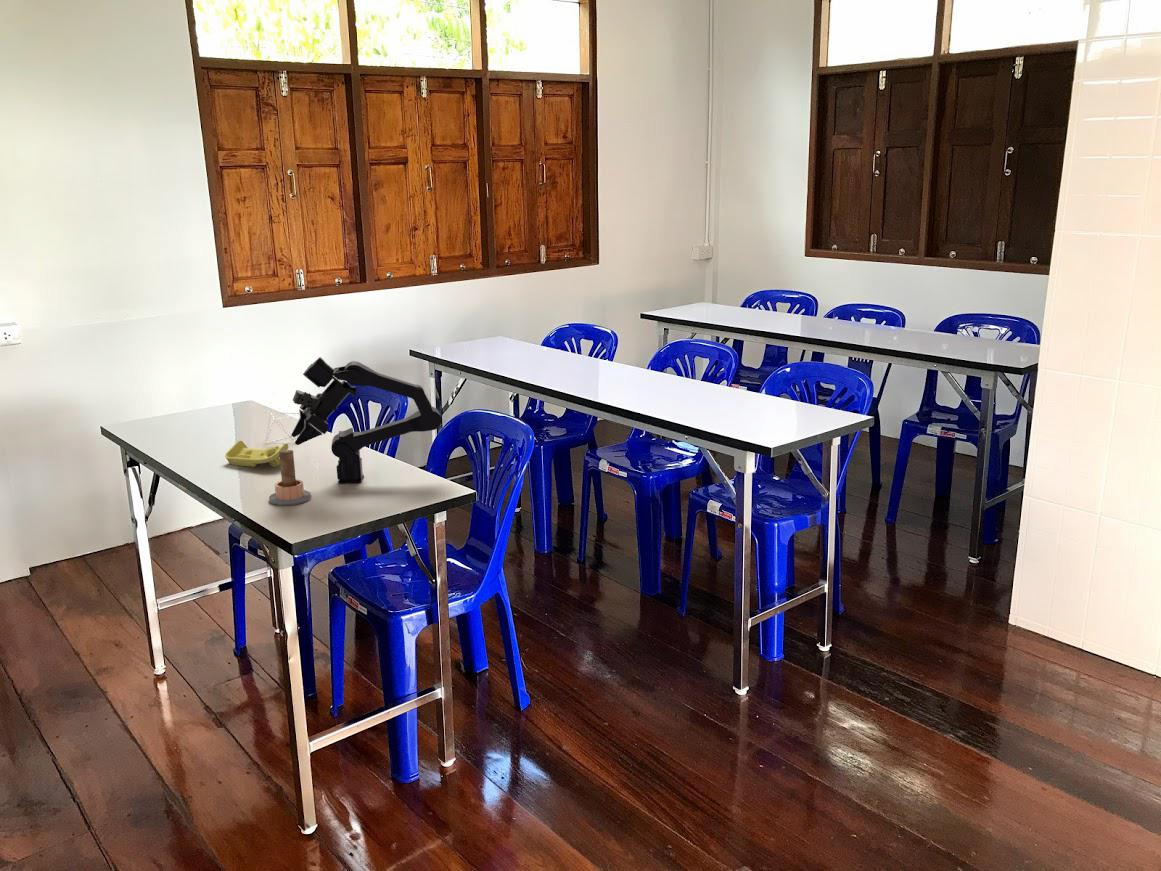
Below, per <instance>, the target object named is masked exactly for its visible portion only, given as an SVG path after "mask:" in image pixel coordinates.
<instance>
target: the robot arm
mask: <svg viewBox="0 0 1161 871" xmlns="http://www.w3.org/2000/svg"><path fill="white" fill-rule="evenodd" d="M302 375H303V376H304V377H305V378H306V379H307V380H309V381H310V382H311V383H313V385H315V386H316V387H317V388H319V389H320V387H321V388H325V387H326V388H325V389H324V391H323V392H322V393H321V392H319V393H317V394H316V395H313V394H311V393H310V392H309V393H308V392H307V391H302V390H299V389H296V390H295V393H294V396H293V397H292V401H293V403H294V404H295V405H300V406H299V411H298V413H300V415H299V418H300V419H299V418H298V420H299V421H298V420H297V422H296V425H295V427H294V428H293V430H292V433H290V434H291V435H292V436H293V438H296V440H295V442H294V443H295V444H294V445H296V446H299V445H302V444H304V443H305V442H307V441H311V440H312V439H314V438H315V439H316V438H317V437H319V436H322V435H326V433H327V432H329V430H330V426H329V423H328V421H329V419H328V418H329V417H330V416H331V415H332V414H333V413H334V412H337V411H338V407H339V406H340V405H341V404H342V403H343V401H344V400H345V399H346V398H347V397H348V396H349V395H352V397H355V398H356V397H357V396H358V394H357V390H358V389H357V386H360V387H372V388H373V387H374V388H378V389H381V390H382V391H385V392H386V391H387V392H391V393H393V394H396V395H400V396H401V397H402V396H403V397H406V398H409V399H411V400H413V402H414V404H415V405H416V407H417V411H415V412H414V413H412V414H411V415H409V416H407V417H406V418H402V419H399V420H395V421H393V422H389V423H385V424H383V425H382V424H381V425H379V426H376V427H373V428H370V429H366V430H362V431H354V428H353V427H351V428H347V429H346V430H339V431H338V433H337V434H335V435H334V436H333V437H332V439H331V440H332V441H331V446H330V448H331V453H332V454H333V455H334V456H335V457H337V458H338V461H337V465H336V477H337V480H338V481H337V482H338V484H358V483H359V484H361V483H362V482H363V479H364V478H365V474H363V459H362V457H361V454H360V453H361V450H362V449H363V448H365V447H366V446H371V445H372V444H373V445H374V444H376V443H380V442H383V441H386V440H390V439H392V438H396V437H400V436H403V435H405V434H409V433H415V432H418V433H419V432H423V433H424V432H429V431H430V432H431V431H435V430H437V429H438V428H440V426H441V424H442V417H441V414H440V411H439V410H438V409H437V408H436V407H434V406H432V404H431V402H430V400H429V398H428V397H427V395H426V393H425V390H424V387H423V386H422V385H420V384H414V383H412V382H408V381H404V380H401V379H399V378H396V377H392V376H388V375H385V374H384V373H380V372H377V371H375V370H374V369H372V368H370V367H369V366H367V365H365V364H363V363H361V362H359V361H356V360H353V361H352V360H351V361H350V362H348V363H347V364H345V366H339V367H334V368H333V367H332V366H331V365H329V364H328V363H327V362H326V361H325V360H324V359H323V358H322V357H321V356H319V357H318V358H317V359H315V361H314V362H312V363H311V364H310V365H309V366H308V367H307V368H306V369H305V371H304V372H303V374H302ZM330 382H331V383H330ZM328 384H329V385H328ZM291 435H290V436H291ZM297 436H298V438H297Z"/></svg>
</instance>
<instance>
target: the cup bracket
mask: <svg viewBox="0 0 1161 871" xmlns="http://www.w3.org/2000/svg"><path fill="white" fill-rule="evenodd" d="M274 490H275V491H274V492H273V493H272V494H269V497H268V502H269V503H270V504H271V505H274V506H278V507H279V506H282V507H287V506H297V505H301V504H302V505H303V504H304V503H308V502H309V501H310V500H311V499H312V493H311V492H310V491H308V490H306V489H304V481H302V480H300V479H296V486H291V487H282V480H280V481H277V482H276V483H275V484H274Z"/></svg>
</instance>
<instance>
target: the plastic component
mask: <svg viewBox="0 0 1161 871" xmlns="http://www.w3.org/2000/svg"><path fill="white" fill-rule="evenodd" d="M283 443H284V444H283V445H282V446H280V445H274V446H270V447H267V448H265V449H263V448H249V447H248V446H247V445H246V444H245V442H244V441H242V440H238V441H236V442H235V443H234V444H233V445H232V446H231V448H230V449H228V450H227V451H226V453H225V455H224V458H225V459H226V461H227V462H228V464H230V465H232V466H238V467H239V466H241V467H242V466H243V467H256V466H257V465H259V464H266V463H268V464H269V465H270V467H274V468H276V467H277V466H279V465H280V455H279V452H280V451H282V450H289V444H287V443H288V442H283Z"/></svg>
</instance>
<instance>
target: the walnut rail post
mask: <svg viewBox="0 0 1161 871" xmlns="http://www.w3.org/2000/svg"><path fill="white" fill-rule="evenodd" d="M279 455H280V457H279V458H280V464H279V465H280V476H281V481H282V487H291V486H296V480H297V479H296V469H295V468H296V467H295V458H294V456H295V455H294V450H293V449H288V450H282V451H280V452H279Z"/></svg>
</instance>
